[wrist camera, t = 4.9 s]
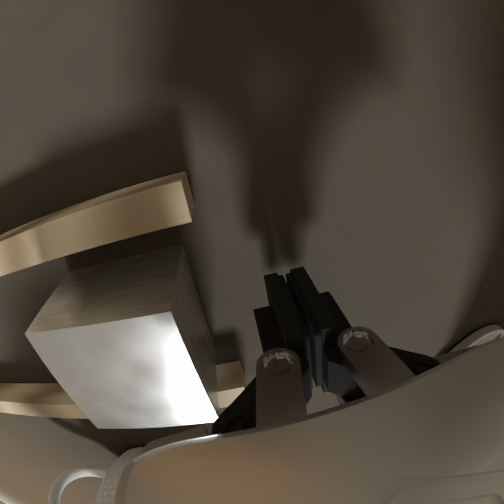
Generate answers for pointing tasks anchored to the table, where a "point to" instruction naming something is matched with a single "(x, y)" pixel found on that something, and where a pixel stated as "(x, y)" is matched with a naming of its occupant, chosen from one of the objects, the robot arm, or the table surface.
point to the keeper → (131, 342)
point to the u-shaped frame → (89, 236)
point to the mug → (110, 476)
